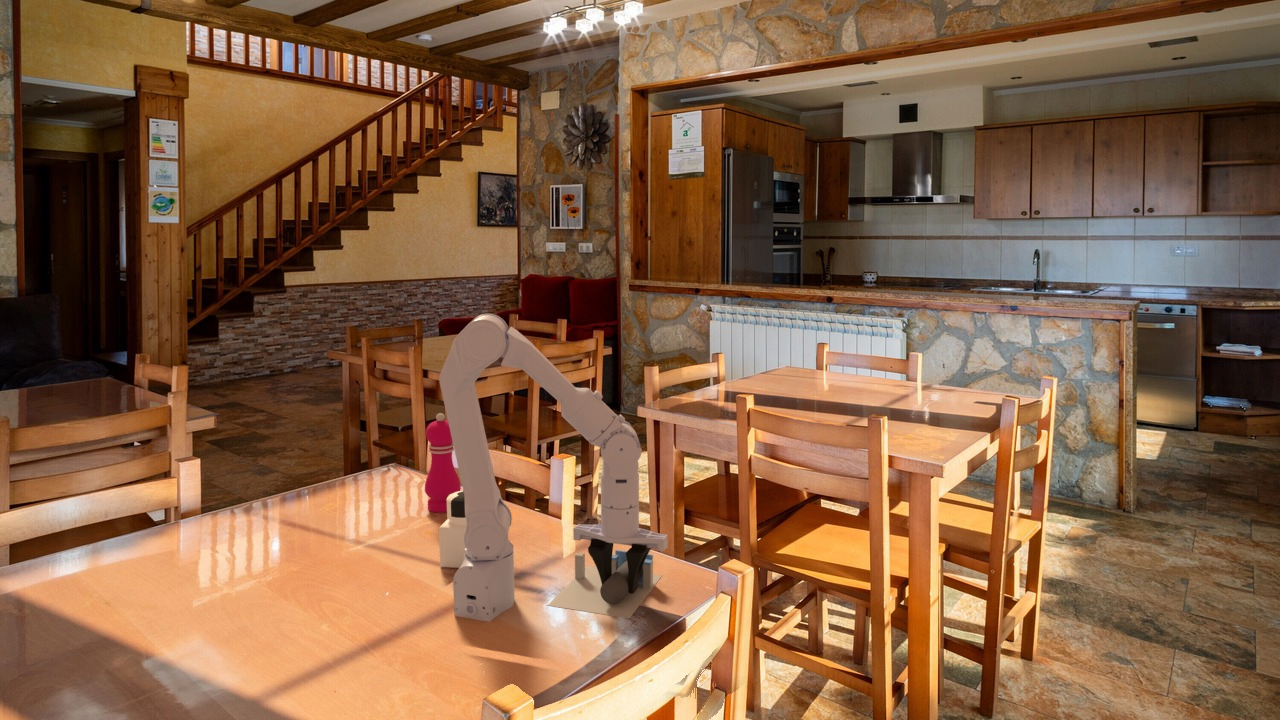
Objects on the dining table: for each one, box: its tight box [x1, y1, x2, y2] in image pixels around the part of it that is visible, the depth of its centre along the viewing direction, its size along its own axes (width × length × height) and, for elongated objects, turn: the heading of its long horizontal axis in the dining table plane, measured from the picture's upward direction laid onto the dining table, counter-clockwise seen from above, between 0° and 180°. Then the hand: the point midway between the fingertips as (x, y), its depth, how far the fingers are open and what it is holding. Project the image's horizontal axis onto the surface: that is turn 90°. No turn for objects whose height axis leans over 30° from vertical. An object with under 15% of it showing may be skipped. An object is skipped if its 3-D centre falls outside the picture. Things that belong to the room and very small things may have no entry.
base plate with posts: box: [546, 549, 663, 619], centre depth 128 cm, size 16×13×6 cm
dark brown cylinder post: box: [600, 560, 643, 604], centre depth 127 cm, size 10×4×4 cm, turn 161°
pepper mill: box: [424, 412, 462, 514], centre depth 169 cm, size 7×7×20 cm
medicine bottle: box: [438, 490, 467, 569], centre depth 142 cm, size 7×7×12 cm
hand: (620, 589), depth 126 cm, fingers closed on dark brown cylinder post, 4 cm apart
